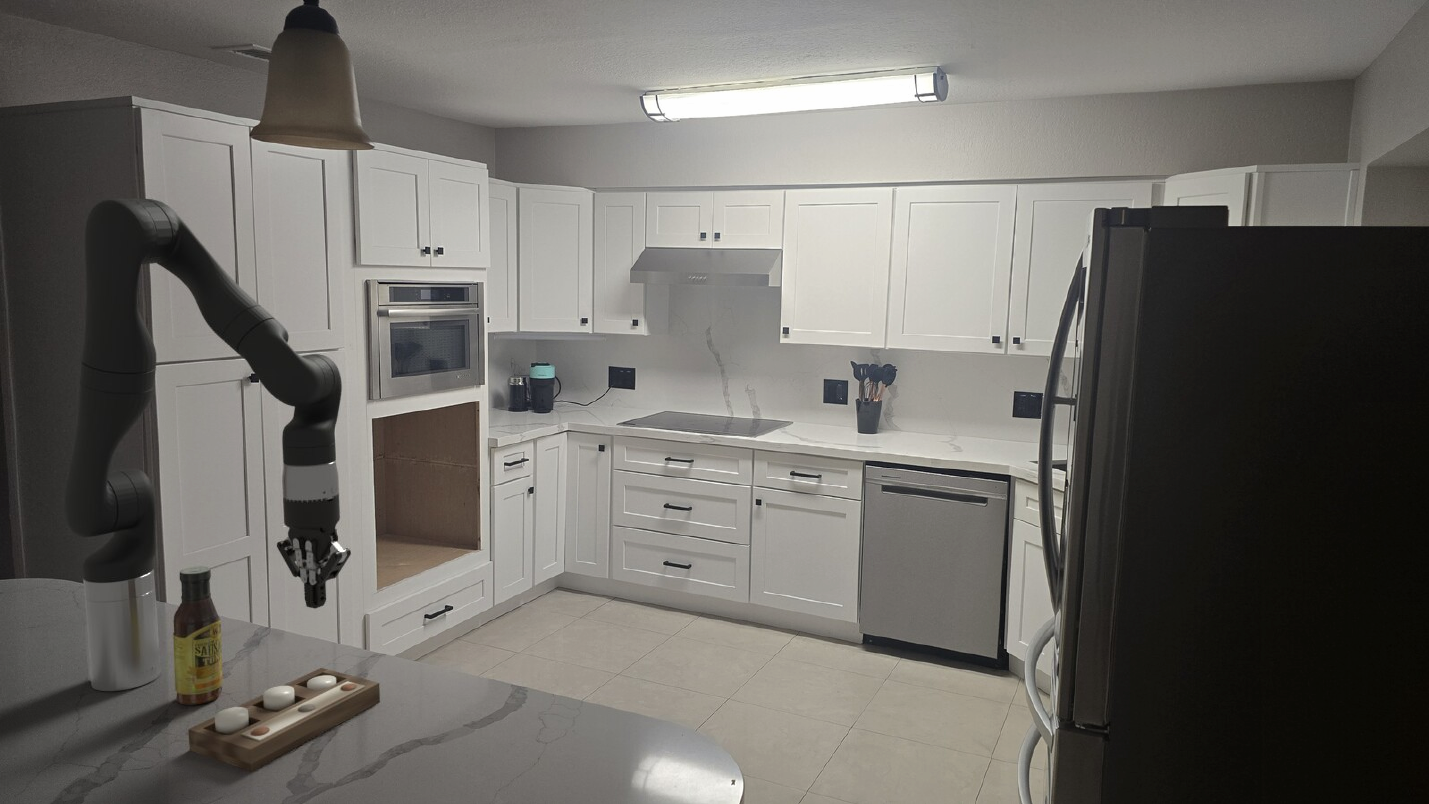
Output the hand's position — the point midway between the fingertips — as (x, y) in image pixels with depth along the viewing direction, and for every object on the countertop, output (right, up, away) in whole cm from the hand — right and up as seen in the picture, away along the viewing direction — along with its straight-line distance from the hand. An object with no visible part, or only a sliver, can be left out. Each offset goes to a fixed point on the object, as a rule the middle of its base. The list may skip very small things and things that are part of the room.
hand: (315, 606), depth 136 cm
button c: (-6, -14, -12) cm, 19 cm away
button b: (-3, -13, -5) cm, 14 cm away
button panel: (-1, -16, -5) cm, 17 cm away
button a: (0, -14, +2) cm, 14 cm away
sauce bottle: (-19, -15, +3) cm, 24 cm away
